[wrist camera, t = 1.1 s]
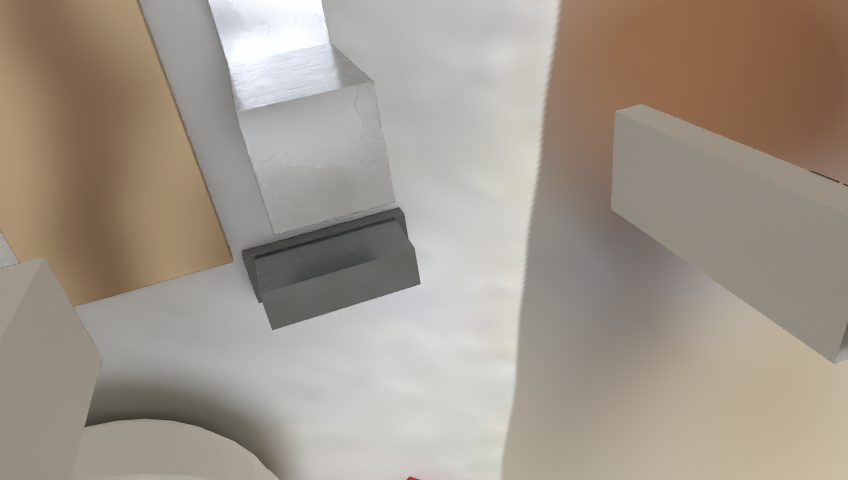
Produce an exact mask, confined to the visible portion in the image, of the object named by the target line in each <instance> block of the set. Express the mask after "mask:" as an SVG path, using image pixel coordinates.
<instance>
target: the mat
mask: <svg viewBox="0 0 848 480" xmlns="http://www.w3.org/2000/svg"><path fill="white" fill-rule="evenodd" d="M0 231H1V233H2V234H3V236H4V238H5V239H6V241H7V243H8V244H9V246H10V248H11V249H12V251H13V253H14V254H15V256H16V257H17V259H18V261H19V262H20V263H23V262H27V261H31V260H35V259H38V258H42V257H45V259H46V261H47V263H48V264H49V266H50V268H51V270H52V271H53V273H54V275H55V277H56V278H57V280H58V282H59V284H60V285H61V287H62V289H63V290H64V292H65V294H66V296H67V297H68V299H69V301H70V303H71V304H72V306H73V307H75V306H78V305H82V304H85V303H89V302H92V301H96V300H100V299H103V298H107V297H110V296H114V295H117V294H121V293H124V292H128V291H132V290H135V289H139V288H142V287H146V286H149V285H153V284H157V283H160V282H164V281H167V280H171V279H174V278H178V277H181V276H185V275H189V274H192V273H196V272H199V271H203V270H206V269H210V268H213V267H217V266H221V265H224V264H228V263H231V262H233V256H232V253H231V251H230V248H229V245H228V243H227V240H226V237H225V234H224V232H223V229H222V226H221V224H220V221H219V218H218V215H217V213H216V210H215V207H214V205H213V202H212V199H211V196H210V194H209V191H208V188H207V186H206V183H205V180H204V177H203V175H202V172H201V169H200V167H199V164H198V161H197V159H196V156H195V153H194V150H193V148H192V145H191V142H190V140H189V137H188V134H187V131H186V129H185V126H184V123H183V121H182V118H181V115H180V112H179V110H178V107H177V104H176V102H175V99H174V96H173V93H172V91H171V88H170V85H169V83H168V80H167V77H166V74H165V72H164V69H163V66H162V64H161V61H160V58H159V56H158V53H157V50H156V47H155V45H154V42H153V39H152V37H151V34H150V31H149V28H148V26H147V23H146V20H145V18H144V15H143V12H142V9H141V7H140V4H139V1H138V0H0Z"/></svg>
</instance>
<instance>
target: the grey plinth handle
mask: <svg viewBox="0 0 848 480" xmlns="http://www.w3.org/2000/svg"><path fill="white" fill-rule="evenodd" d="M242 253H243V260H244V263H245V266H246V269H247V271H248V274H249V277H250V280H251V283H252V285H253V288H254V291H255V294H256V296H257V299H258V302H259V303H261V302H263V305H264V308H265V311H266V313H267V316H268V319H269V322H270V325H271V327H272V330H274V329H278V328H281V327H284V326H287V325H290V324H294V323H297V322H300V321H303V320H307V319H310V318H313V317H316V316H319V315H323V314H326V313H329V312H332V311H336V310H339V309H342V308H345V307H348V306H352V305H355V304H358V303H361V302H365V301H368V300H371V299H374V298H377V297H381V296H384V295H387V294H390V293H394V292H397V291H400V290H403V289H406V288H410V287H413V286H416V285H419V284H421V283H420V278H419V272H418V266H417V260H416V254H415V248H414V247H413V245H412V244H411V242H410V241H409V239H408V234H407V228H406V222H405V216H404V213H403V212H402V210H401V209H400V208H397V209H393V210H389V211H386V212H382V213H379V214H375V215H371V216H368V217H364V218H361V219H357V220H353V221H350V222H346V223H343V224H339V225H335V226H332V227H328V228H325V229H321V230H317V231H314V232H310V233H307V234H303V235H299V236H296V237H292V238H289V239H285V240H281V241H278V242H274V243H271V244H267V245H263V246H260V247H256V248H253V249H249V250H245V251H242Z"/></svg>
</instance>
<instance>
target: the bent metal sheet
mask: <svg viewBox="0 0 848 480" xmlns="http://www.w3.org/2000/svg"><path fill="white" fill-rule="evenodd" d="M208 1H209V5H210V8H211V11H212V14H213V18H214V21H215V24H216V27H217V31H218V34H219V37H220V40H221V43H222V47H223V50H224V53H225V56H226V60H227V63H228V68H229V75H230V81H231V88H232V94H233V101H234V107H235V113H236V116H237V119H238V122H239V126H240V129H241V132H242V135H243V138H244V141H245V145H246V148H247V151H248V154H249V157H250V160H251V163H252V167H253V170H254V173H255V176H256V179H257V182H258V186H259V189H260V192H261V195H262V198H263V201H264V205H265V208H266V211H267V214H268V217H269V220H270V224H271V227H272V230H273V233H274V235H276V234H280V233H284V232H287V231H291V230H295V229H298V228H302V227H305V226H309V225H313V224H316V223H320V222H324V221H327V220H331V219H335V218H338V217H342V216H346V215H349V214H353V213H356V212H360V211H364V210H367V209H371V208H375V207H378V206H382V205H386V204H389V203H393V202H395V199H394V193H393V188H392V182H391V176H390V171H389V165H388V160H387V154H386V149H385V143H384V138H383V132H382V127H381V121H380V116H379V110H378V105H377V99H376V94H375V88H374V83H373V80H371V79H370V78H369V77H368V76H367V75H366V74H365V73H364V72H362V71H361V70H360V69H359V68H358V67H357V66H356V65H355V64H353V63H352V62H351V61H350V60H349V59H348V58H347V57H346V56H344V55H343V54H342V53H341V52H340V51H339V50H338V49H337V48H335V47H334V46H333V45H332V44H331V43H330V40H329V36H328V31H327V26H326V22H325V17H324V12H323V8H322V3H321V0H208Z"/></svg>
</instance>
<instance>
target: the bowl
mask: <svg viewBox="0 0 848 480" xmlns="http://www.w3.org/2000/svg"><path fill="white" fill-rule="evenodd" d="M70 480H279V479H278V478H277V477H276V476H275V475H274V474H273V472H271V471H270V470H268V469H267V468H266V467H265V466H264V465H263V464H262V463H261V462H260V461H259V459H258V458H257V457H256V456H255V455H254V454H252V453H251V452H249V451H248V450H246V449H245V448H244V447H242V446H241V445H239V444H238V443H236V442H235V441H232V440H230V439H227V438H225V437H223V436H220V435H218V434H216V433H213V432H211V431H208V430H206V429H203V428H201V427H199V426H194V425H190V424H185V423H181V422H176V421H169V420H155V419H136V420H121V421H113V422H108V423H103V424H98V425H93V426H88V427H85V428H84V430H83V434H82V438H81V442H80V445H79V449H78V453H77V456H76V460H75V464H74V468H73V471H72V475H71V479H70Z"/></svg>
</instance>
